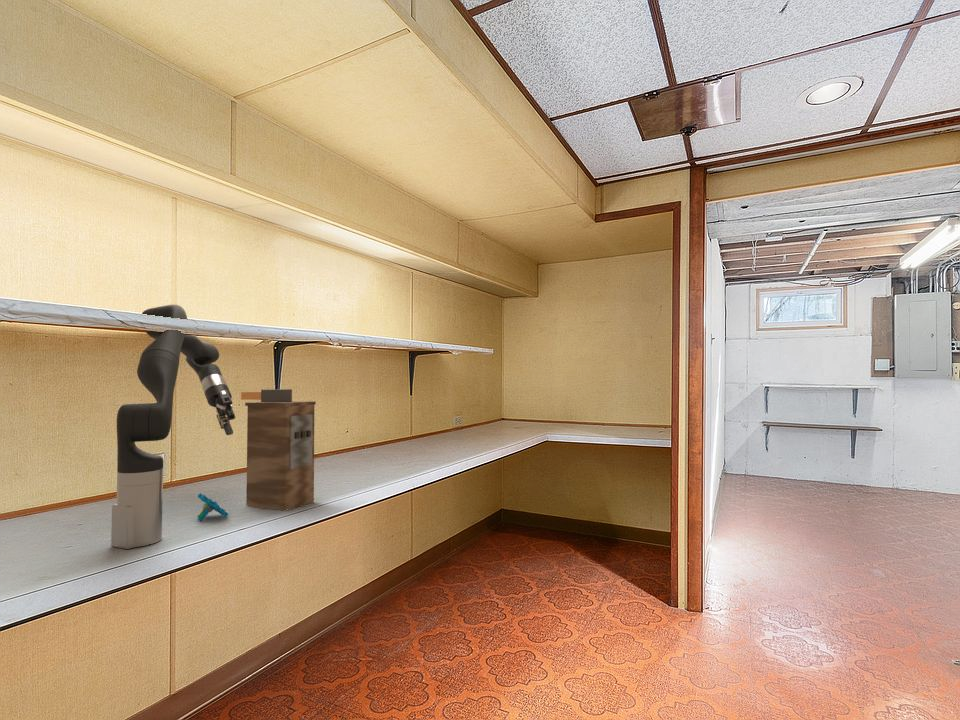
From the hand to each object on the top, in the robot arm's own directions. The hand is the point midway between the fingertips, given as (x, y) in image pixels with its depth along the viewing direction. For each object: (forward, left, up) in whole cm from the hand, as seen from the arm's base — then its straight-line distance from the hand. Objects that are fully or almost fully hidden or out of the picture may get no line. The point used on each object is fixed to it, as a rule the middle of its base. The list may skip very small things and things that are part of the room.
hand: (231, 426), depth 165 cm
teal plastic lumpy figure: (-19, -16, -24) cm, 34 cm away
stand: (+1, -21, -24) cm, 32 cm away
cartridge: (+1, -15, +8) cm, 17 cm away
